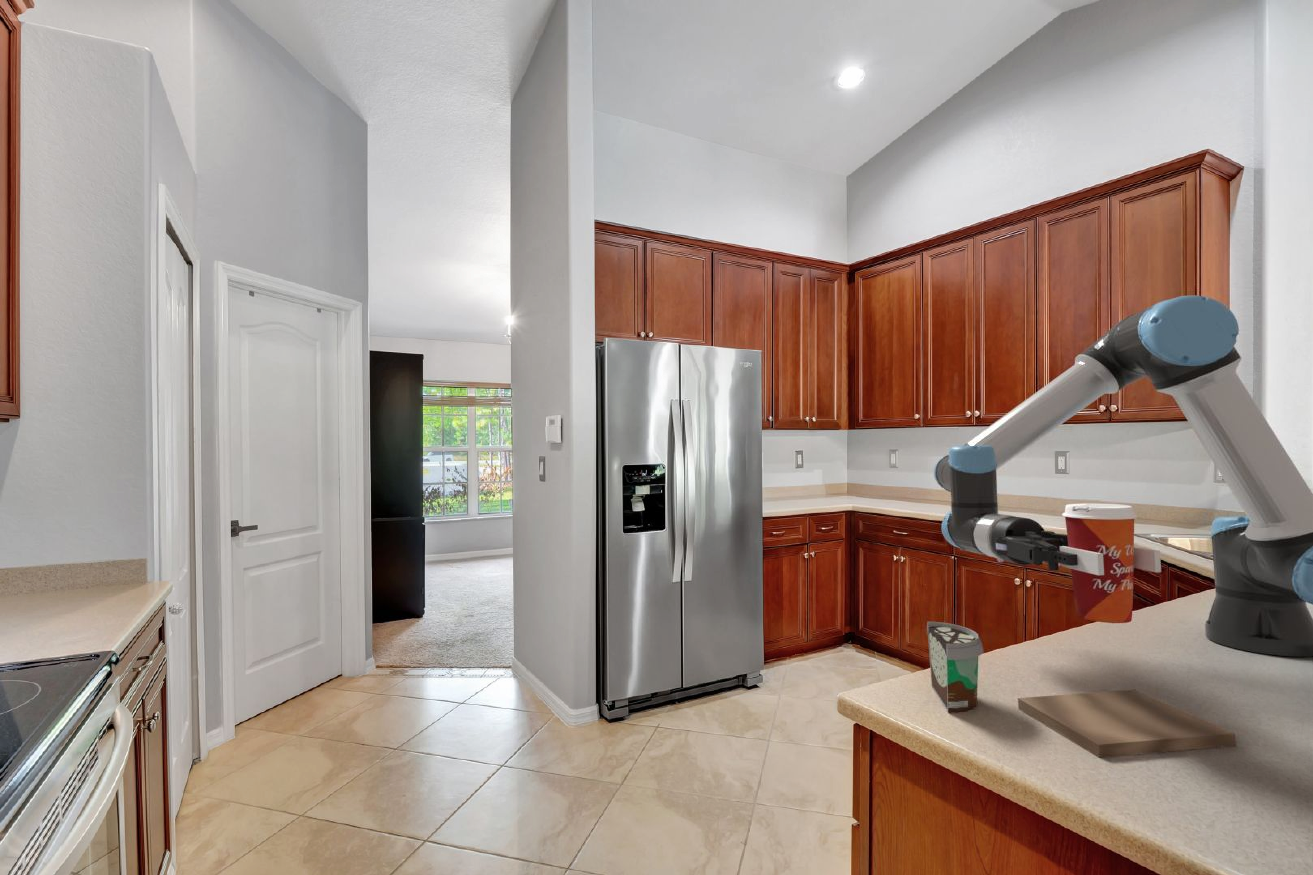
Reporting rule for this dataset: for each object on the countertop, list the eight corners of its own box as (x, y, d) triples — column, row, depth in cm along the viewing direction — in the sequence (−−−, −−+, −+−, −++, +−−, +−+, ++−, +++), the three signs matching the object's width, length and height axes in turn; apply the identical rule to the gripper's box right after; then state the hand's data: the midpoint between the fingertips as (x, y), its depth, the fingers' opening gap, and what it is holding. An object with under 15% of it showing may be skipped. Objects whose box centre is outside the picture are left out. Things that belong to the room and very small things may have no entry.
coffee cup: (1117, 629, 76) (1111, 509, 76) (1053, 613, 83) (1047, 505, 84) (1158, 620, 79) (1152, 505, 79) (1092, 606, 87) (1086, 501, 87)
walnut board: (1135, 699, 87) (1134, 689, 87) (1236, 745, 74) (1235, 733, 74) (1018, 708, 86) (1017, 697, 86) (1099, 757, 72) (1098, 744, 72)
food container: (999, 719, 83) (995, 646, 83) (950, 717, 84) (947, 644, 84) (971, 685, 95) (968, 621, 95) (929, 684, 96) (926, 620, 96)
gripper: (1068, 558, 100) (1203, 588, 78) (953, 564, 99) (1056, 596, 76) (1066, 513, 101) (1200, 530, 78) (951, 518, 99) (1053, 536, 76)
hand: (1129, 562), depth 77 cm, fingers closed on coffee cup, 7 cm apart
